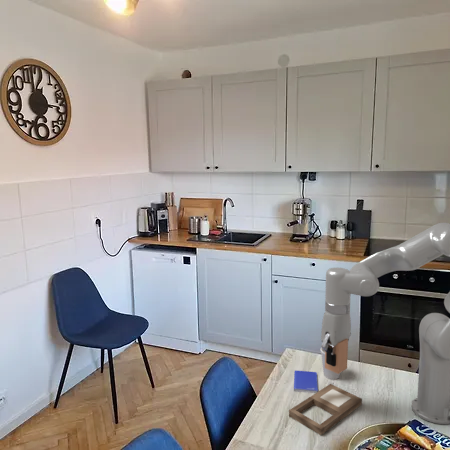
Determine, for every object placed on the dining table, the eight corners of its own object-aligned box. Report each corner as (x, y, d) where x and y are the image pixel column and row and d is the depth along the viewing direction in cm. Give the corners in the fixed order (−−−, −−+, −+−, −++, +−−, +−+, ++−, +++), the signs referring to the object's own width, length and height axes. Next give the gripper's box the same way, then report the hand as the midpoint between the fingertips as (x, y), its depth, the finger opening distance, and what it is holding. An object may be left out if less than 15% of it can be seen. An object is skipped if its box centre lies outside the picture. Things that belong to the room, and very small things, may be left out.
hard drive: (318, 390, 135) (316, 371, 147) (293, 388, 136) (294, 370, 148) (317, 394, 135) (316, 375, 147) (293, 392, 137) (294, 374, 149)
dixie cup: (343, 382, 141) (343, 356, 139) (319, 379, 144) (319, 353, 142) (343, 371, 149) (344, 346, 147) (320, 368, 151) (321, 343, 150)
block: (347, 368, 127) (348, 339, 125) (338, 373, 124) (339, 343, 122) (333, 362, 131) (334, 334, 129) (324, 367, 127) (325, 338, 126)
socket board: (361, 404, 128) (362, 398, 128) (321, 435, 114) (321, 428, 114) (330, 389, 137) (330, 383, 137) (289, 416, 123) (289, 409, 123)
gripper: (342, 298, 132) (341, 349, 135) (311, 311, 121) (310, 366, 124) (362, 303, 126) (361, 357, 129) (331, 318, 116) (330, 375, 118)
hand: (336, 361), depth 127 cm, fingers closed on block, 5 cm apart
